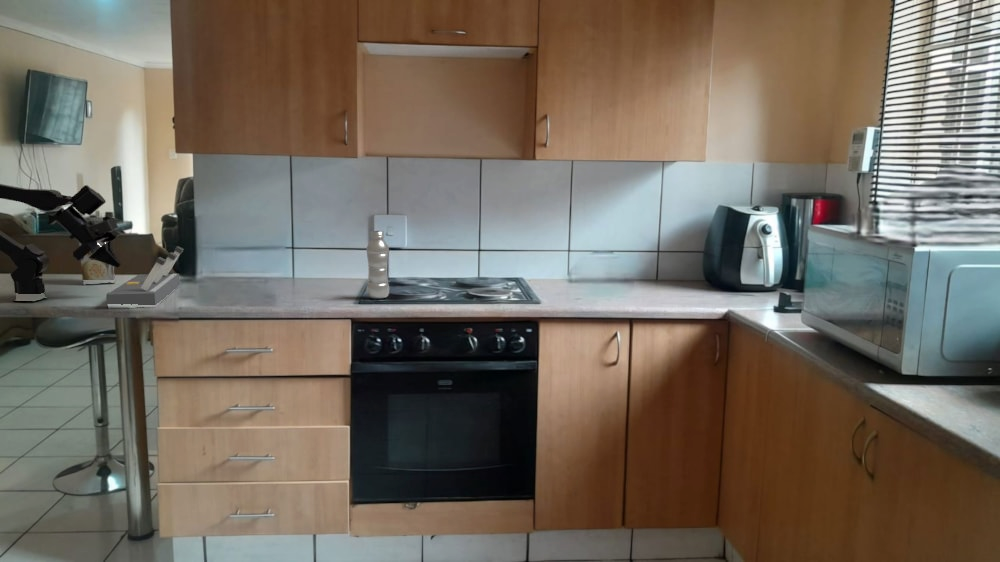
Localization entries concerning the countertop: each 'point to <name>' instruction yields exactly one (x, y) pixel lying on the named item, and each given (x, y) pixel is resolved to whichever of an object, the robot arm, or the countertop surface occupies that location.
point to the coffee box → (96, 269)
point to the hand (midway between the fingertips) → (119, 266)
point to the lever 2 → (177, 251)
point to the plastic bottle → (377, 266)
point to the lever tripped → (165, 266)
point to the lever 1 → (153, 273)
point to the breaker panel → (143, 291)
